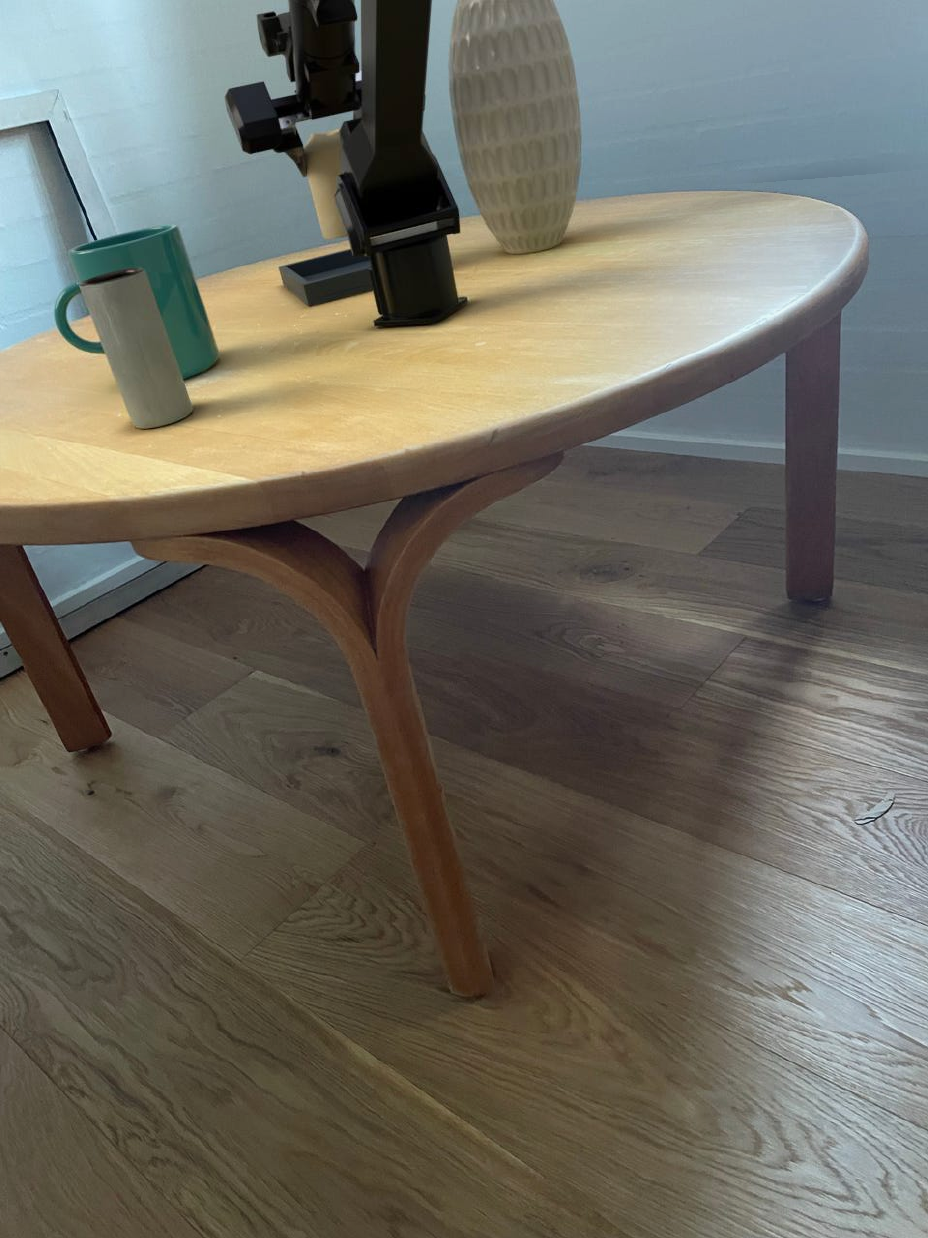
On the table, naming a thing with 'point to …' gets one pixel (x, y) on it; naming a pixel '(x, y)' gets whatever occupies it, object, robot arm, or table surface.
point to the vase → (516, 118)
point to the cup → (169, 284)
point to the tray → (327, 277)
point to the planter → (137, 347)
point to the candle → (325, 180)
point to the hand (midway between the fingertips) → (330, 167)
